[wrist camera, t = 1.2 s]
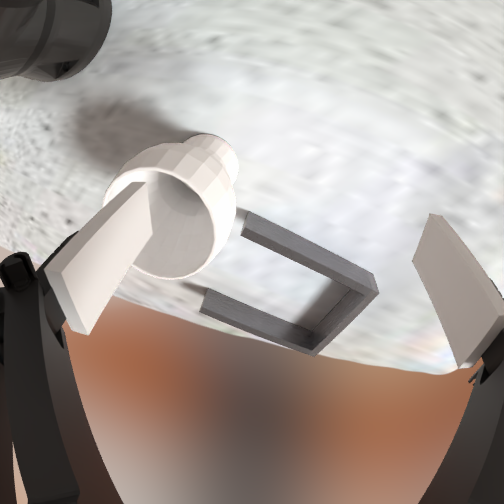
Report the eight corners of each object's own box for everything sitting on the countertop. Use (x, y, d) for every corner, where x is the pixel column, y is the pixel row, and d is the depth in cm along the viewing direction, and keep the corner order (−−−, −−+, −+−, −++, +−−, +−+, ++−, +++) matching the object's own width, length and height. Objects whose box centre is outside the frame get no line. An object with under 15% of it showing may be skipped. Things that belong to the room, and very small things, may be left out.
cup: (200, 221, 37) (158, 302, 25) (147, 158, 33) (74, 213, 21) (269, 177, 33) (256, 248, 21) (213, 103, 29) (157, 126, 16)
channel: (205, 293, 44) (199, 311, 41) (249, 211, 36) (244, 227, 32) (313, 337, 47) (314, 356, 44) (373, 274, 39) (379, 293, 35)
